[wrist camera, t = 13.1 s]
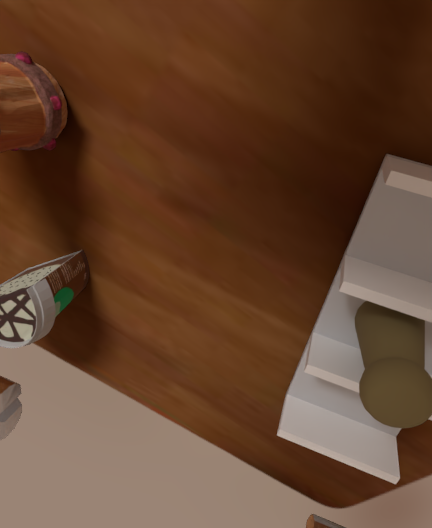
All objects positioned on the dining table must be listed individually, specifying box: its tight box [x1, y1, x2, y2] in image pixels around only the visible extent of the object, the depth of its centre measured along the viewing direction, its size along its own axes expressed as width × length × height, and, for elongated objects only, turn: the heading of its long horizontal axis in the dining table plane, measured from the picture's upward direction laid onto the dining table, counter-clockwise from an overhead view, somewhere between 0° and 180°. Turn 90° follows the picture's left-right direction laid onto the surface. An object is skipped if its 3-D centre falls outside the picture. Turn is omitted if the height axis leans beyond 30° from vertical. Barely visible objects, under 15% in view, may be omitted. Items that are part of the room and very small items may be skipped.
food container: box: [0, 250, 89, 348], centre depth 45 cm, size 12×6×10 cm, turn 113°
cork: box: [355, 301, 432, 428], centre depth 33 cm, size 6×6×11 cm
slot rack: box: [277, 154, 432, 484], centre depth 35 cm, size 28×12×6 cm, turn 167°
